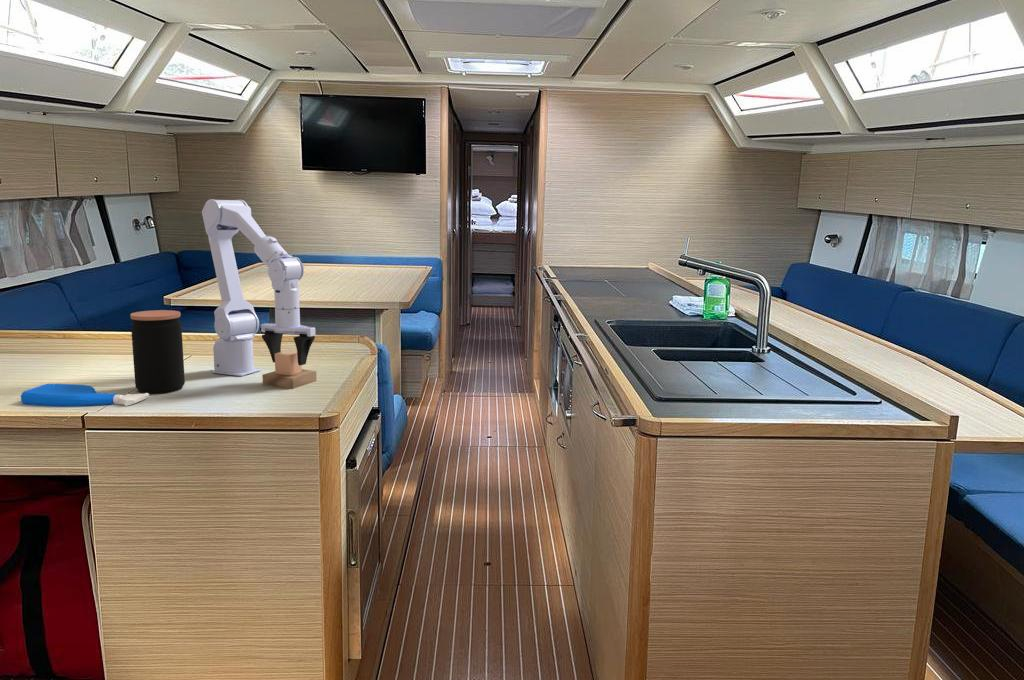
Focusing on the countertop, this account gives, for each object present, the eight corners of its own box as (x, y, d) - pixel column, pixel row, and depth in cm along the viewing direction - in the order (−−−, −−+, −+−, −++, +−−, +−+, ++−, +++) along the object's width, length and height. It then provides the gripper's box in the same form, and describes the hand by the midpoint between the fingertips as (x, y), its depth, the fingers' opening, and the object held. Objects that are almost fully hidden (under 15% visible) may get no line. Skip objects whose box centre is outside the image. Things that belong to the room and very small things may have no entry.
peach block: (275, 373, 187) (274, 353, 186) (286, 370, 191) (286, 350, 190) (290, 375, 186) (289, 355, 185) (301, 372, 190) (301, 352, 189)
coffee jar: (195, 386, 184) (190, 311, 181) (161, 396, 174) (156, 317, 171) (159, 382, 187) (154, 309, 184) (124, 392, 177) (119, 314, 174)
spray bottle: (15, 393, 165) (124, 399, 163) (50, 381, 175) (153, 387, 173) (16, 406, 165) (125, 412, 163) (51, 394, 176) (153, 399, 174)
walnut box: (263, 386, 187) (262, 374, 186) (287, 379, 195) (286, 367, 194) (293, 390, 183) (292, 378, 183) (316, 382, 191) (316, 371, 191)
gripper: (251, 308, 185) (254, 363, 187) (301, 311, 179) (303, 368, 182) (271, 304, 191) (273, 358, 193) (320, 308, 186) (321, 363, 188)
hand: (289, 363), depth 188 cm, fingers open, 7 cm apart
